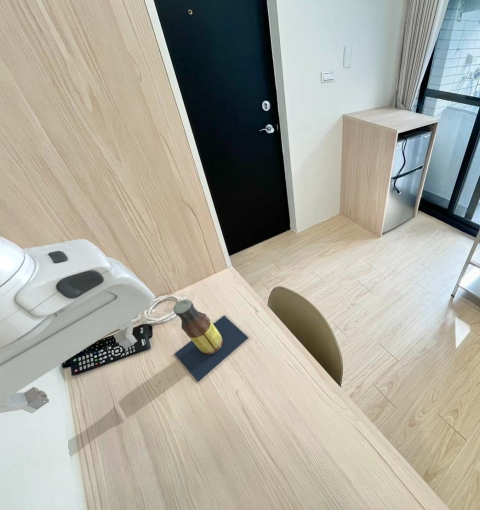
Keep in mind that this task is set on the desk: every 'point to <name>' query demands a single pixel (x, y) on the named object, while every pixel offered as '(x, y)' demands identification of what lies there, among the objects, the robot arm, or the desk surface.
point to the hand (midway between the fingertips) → (88, 370)
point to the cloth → (204, 363)
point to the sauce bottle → (198, 327)
